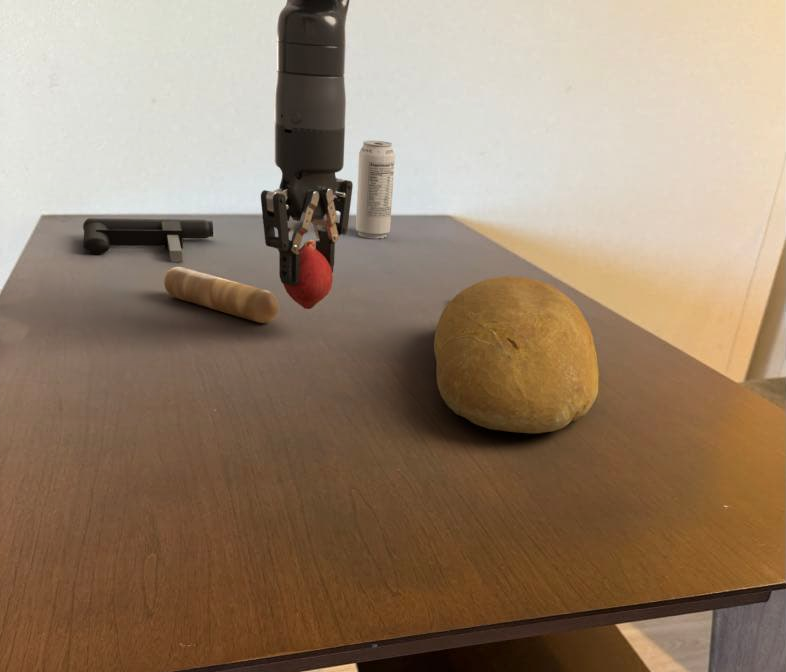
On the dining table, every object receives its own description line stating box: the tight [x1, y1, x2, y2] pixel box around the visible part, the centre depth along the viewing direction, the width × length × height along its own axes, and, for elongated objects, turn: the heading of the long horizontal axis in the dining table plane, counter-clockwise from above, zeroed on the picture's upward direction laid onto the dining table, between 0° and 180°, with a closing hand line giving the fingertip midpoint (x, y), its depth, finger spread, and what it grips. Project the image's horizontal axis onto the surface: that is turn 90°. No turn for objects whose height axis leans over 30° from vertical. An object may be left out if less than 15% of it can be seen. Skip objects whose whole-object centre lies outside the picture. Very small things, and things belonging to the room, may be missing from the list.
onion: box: [282, 239, 334, 310], centre depth 100 cm, size 6×6×8 cm
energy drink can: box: [355, 140, 396, 240], centre depth 146 cm, size 6×6×15 cm
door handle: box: [82, 217, 214, 263], centre depth 132 cm, size 3×20×16 cm
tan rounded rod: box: [163, 266, 280, 324], centre depth 108 cm, size 18×4×4 cm, turn 57°
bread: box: [433, 275, 599, 434], centre depth 93 cm, size 18×35×10 cm, turn 178°
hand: (307, 278), depth 100 cm, fingers closed on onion, 6 cm apart
